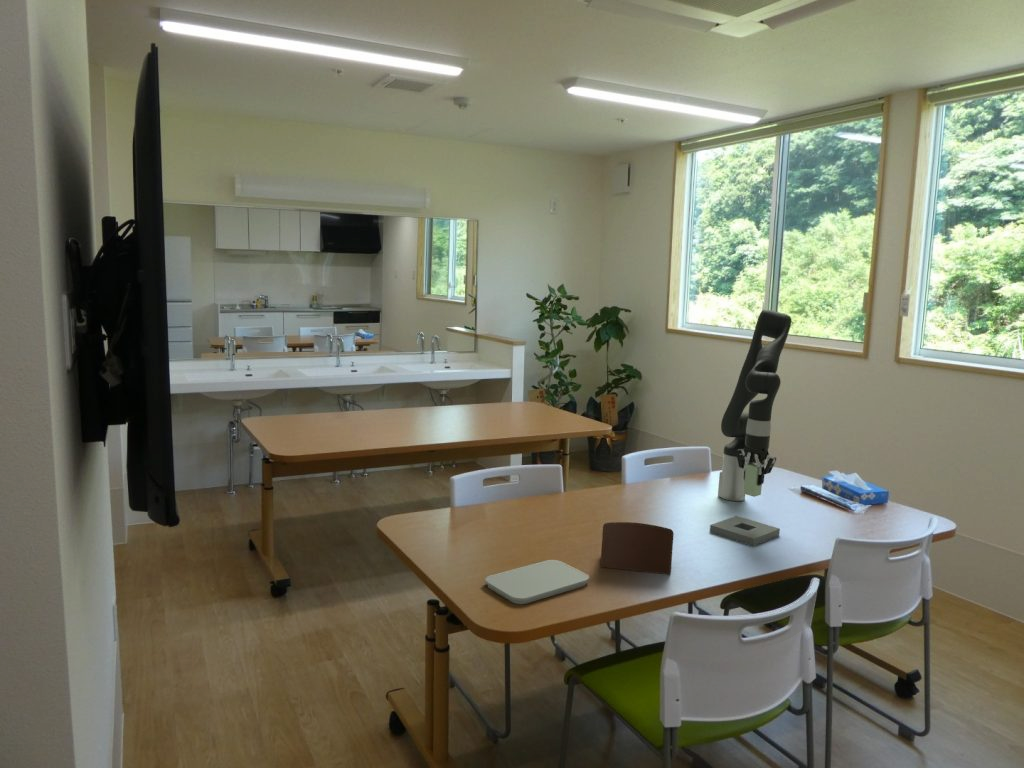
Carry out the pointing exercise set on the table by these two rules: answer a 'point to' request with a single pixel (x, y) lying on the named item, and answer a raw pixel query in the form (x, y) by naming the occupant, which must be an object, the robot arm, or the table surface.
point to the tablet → (536, 581)
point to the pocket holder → (744, 530)
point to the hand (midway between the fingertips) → (753, 483)
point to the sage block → (751, 481)
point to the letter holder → (637, 547)
